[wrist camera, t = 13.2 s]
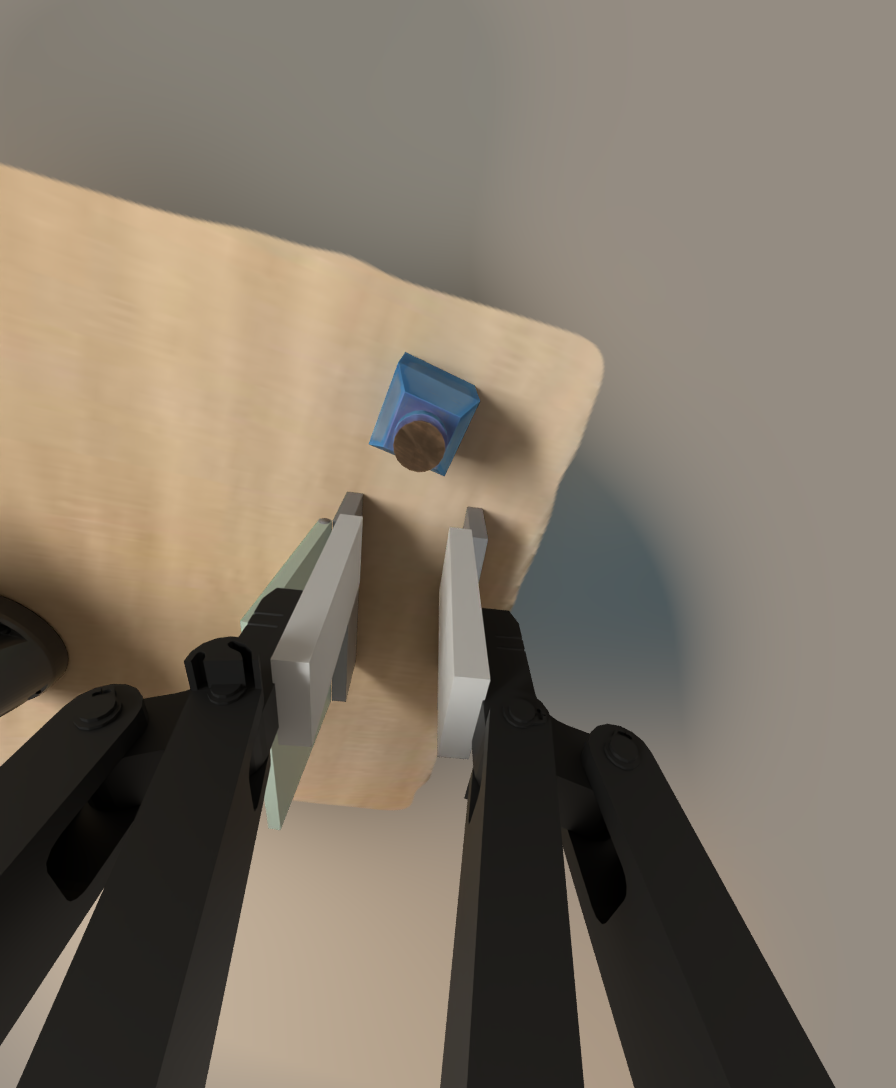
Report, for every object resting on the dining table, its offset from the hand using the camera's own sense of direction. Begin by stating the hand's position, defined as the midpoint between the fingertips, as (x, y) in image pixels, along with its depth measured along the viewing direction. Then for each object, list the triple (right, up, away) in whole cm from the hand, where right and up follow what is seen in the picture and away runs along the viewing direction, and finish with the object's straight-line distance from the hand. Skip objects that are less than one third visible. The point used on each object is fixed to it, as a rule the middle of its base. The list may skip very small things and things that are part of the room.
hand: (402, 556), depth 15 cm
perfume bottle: (0, +12, +21) cm, 25 cm away
